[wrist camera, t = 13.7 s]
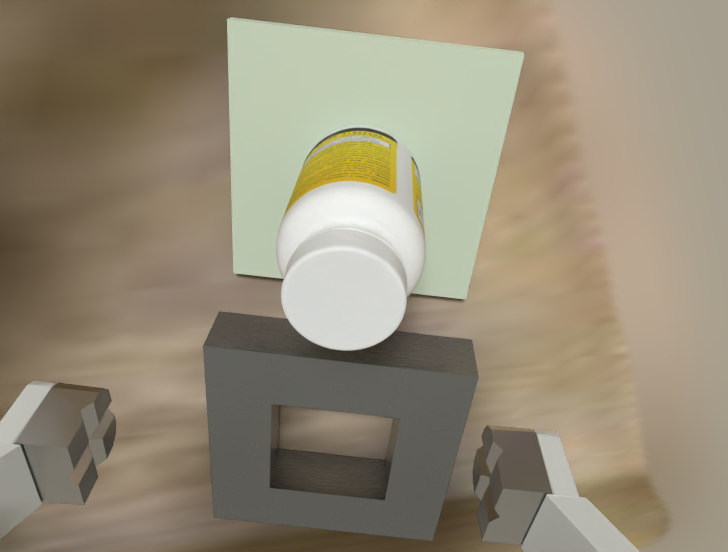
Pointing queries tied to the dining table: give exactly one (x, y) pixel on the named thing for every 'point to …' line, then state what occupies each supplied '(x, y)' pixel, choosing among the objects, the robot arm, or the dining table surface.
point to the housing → (344, 394)
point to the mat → (372, 108)
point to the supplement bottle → (352, 239)
